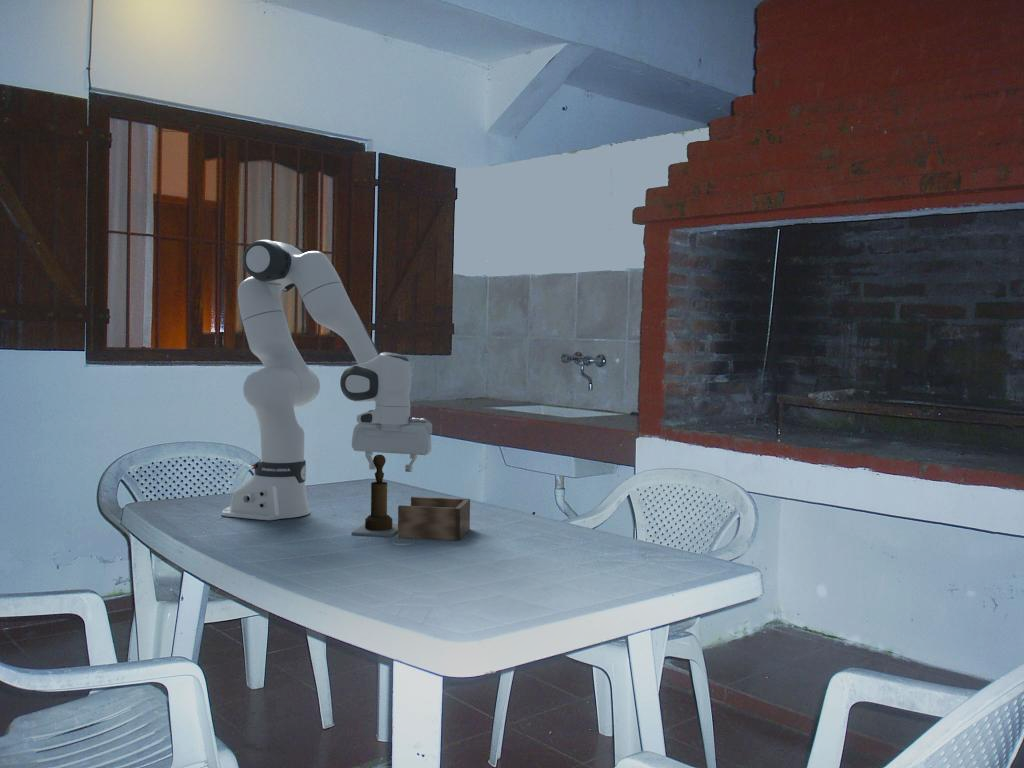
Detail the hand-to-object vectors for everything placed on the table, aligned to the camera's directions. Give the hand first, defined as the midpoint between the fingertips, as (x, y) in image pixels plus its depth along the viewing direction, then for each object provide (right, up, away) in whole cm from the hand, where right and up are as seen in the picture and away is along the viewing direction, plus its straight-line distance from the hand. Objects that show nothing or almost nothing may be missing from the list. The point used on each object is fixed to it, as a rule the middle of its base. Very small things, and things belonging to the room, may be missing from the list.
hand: (390, 470), depth 225 cm
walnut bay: (+12, -14, -11) cm, 21 cm away
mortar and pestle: (-2, -13, -9) cm, 16 cm away
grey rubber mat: (-2, -14, -9) cm, 17 cm away
